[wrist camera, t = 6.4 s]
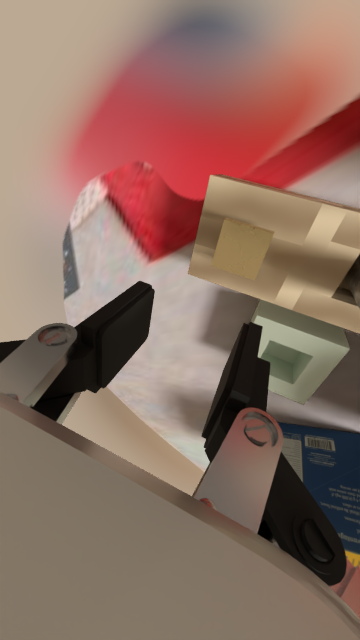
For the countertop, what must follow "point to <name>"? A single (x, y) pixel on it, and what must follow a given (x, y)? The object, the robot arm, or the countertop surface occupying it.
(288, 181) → the countertop surface
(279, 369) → the pale green square block
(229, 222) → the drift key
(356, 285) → the silver cylinder
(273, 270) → the socket block
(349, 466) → the protein box
